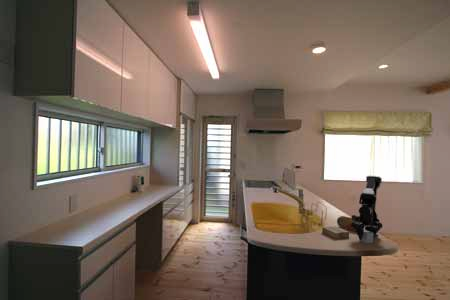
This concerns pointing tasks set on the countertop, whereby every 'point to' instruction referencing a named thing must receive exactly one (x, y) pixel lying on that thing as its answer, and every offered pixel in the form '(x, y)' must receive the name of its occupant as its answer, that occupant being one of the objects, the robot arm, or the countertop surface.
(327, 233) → the walnut block
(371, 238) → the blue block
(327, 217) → the countertop surface
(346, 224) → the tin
